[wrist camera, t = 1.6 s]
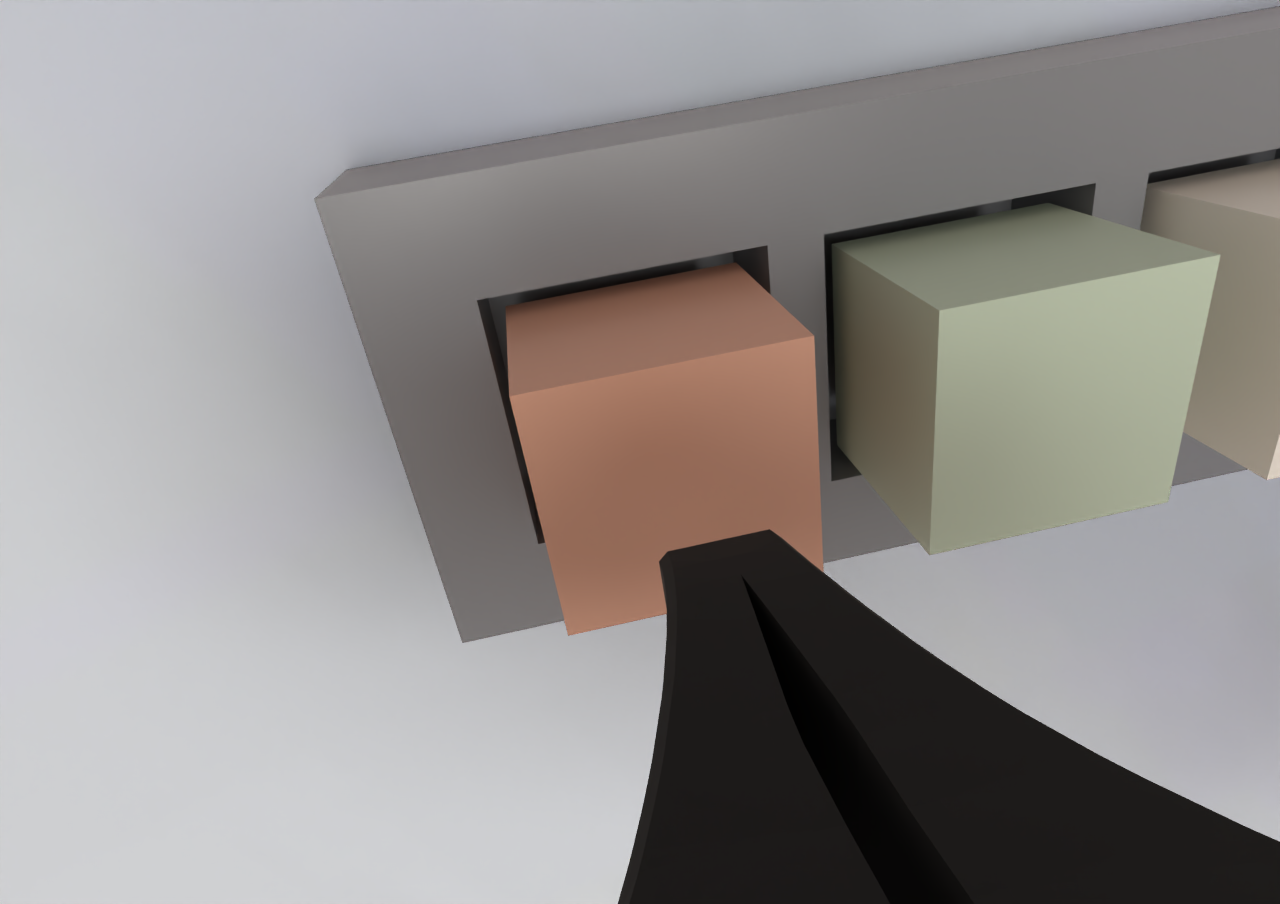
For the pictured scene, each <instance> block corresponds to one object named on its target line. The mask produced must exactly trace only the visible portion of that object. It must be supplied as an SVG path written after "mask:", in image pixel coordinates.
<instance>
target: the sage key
mask: <svg viewBox="0 0 1280 904" xmlns="http://www.w3.org/2000/svg"><path fill="white" fill-rule="evenodd" d="M1220 256H1221V255H1220V254H1217V253H1213V252H1210V251H1207V250H1203V249H1200V248H1197V247H1193V246H1190V245H1187V244H1183V243H1180V242H1177V241H1173V240H1170V239H1167V238H1163V237H1160V236H1157V235H1154V234H1150V233H1147V232H1144V231H1140V230H1137V229H1134V228H1130V227H1127V226H1124V225H1120V224H1117V223H1114V222H1110V221H1107V220H1104V219H1100V218H1097V217H1094V216H1090V215H1087V214H1084V213H1081V212H1077V211H1074V210H1071V209H1067V208H1064V207H1061V206H1057V205H1054V204H1051V203H1044V204H1039V205H1034V206H1029V207H1023V208H1018V209H1013V210H1008V211H1002V212H997V213H992V214H987V215H981V216H976V217H971V218H966V219H960V220H955V221H950V222H945V223H939V224H934V225H929V226H924V227H918V228H913V229H908V230H903V231H897V232H892V233H887V234H882V235H876V236H871V237H866V238H861V239H855V240H850V241H845V242H840V243H834V244H832V278H833V316H834V354H835V391H836V429H837V445H838V447H839V448H840V449H841V450H842V451H843V453H844V454H845V455H846V456H847V457H848V459H849V460H850V461H851V462H852V463H853V465H854V466H855V467H856V468H857V469H858V470H859V472H860V473H861V474H862V475H863V476H864V478H865V479H866V480H867V481H868V482H869V484H870V485H871V486H872V487H873V488H874V490H875V491H876V492H877V493H878V494H879V496H880V497H881V498H882V499H883V500H884V502H885V503H886V504H887V505H888V506H889V507H890V509H891V510H892V511H893V512H894V513H895V515H896V516H897V517H898V518H899V519H900V521H901V522H902V523H903V524H904V525H905V527H906V528H907V529H908V530H909V531H910V533H911V534H912V535H913V536H914V537H915V538H916V540H917V541H918V542H919V543H920V544H921V546H922V547H923V548H924V549H925V550H926V552H927V553H928V554H929V555H933V554H937V553H942V552H946V551H951V550H955V549H960V548H964V547H969V546H973V545H978V544H982V543H987V542H991V541H995V540H1000V539H1004V538H1009V537H1013V536H1018V535H1022V534H1027V533H1031V532H1036V531H1040V530H1045V529H1049V528H1054V527H1058V526H1063V525H1067V524H1072V523H1076V522H1081V521H1085V520H1090V519H1094V518H1099V517H1103V516H1108V515H1112V514H1117V513H1121V512H1126V511H1130V510H1135V509H1139V508H1144V507H1148V506H1153V505H1157V504H1162V503H1166V502H1168V500H1169V495H1170V490H1171V486H1172V481H1173V476H1174V472H1175V467H1176V462H1177V457H1178V453H1179V448H1180V443H1181V439H1182V434H1183V429H1184V425H1185V420H1186V415H1187V411H1188V406H1189V401H1190V396H1191V392H1192V387H1193V382H1194V378H1195V373H1196V368H1197V364H1198V359H1199V354H1200V350H1201V345H1202V340H1203V335H1204V331H1205V326H1206V321H1207V317H1208V312H1209V307H1210V303H1211V298H1212V293H1213V289H1214V284H1215V279H1216V274H1217V270H1218V265H1219V260H1220Z"/></svg>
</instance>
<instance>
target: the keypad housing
mask: <svg viewBox="0 0 1280 904" xmlns="http://www.w3.org/2000/svg"><path fill="white" fill-rule="evenodd" d="M1275 159H1280V6H1279V7H1274V8H1268V9H1262V10H1256V11H1251V12H1245V13H1239V14H1234V15H1228V16H1222V17H1216V18H1211V19H1205V20H1199V21H1194V22H1188V23H1182V24H1176V25H1171V26H1165V27H1159V28H1154V29H1148V30H1142V31H1136V32H1131V33H1125V34H1119V35H1114V36H1108V37H1102V38H1096V39H1091V40H1085V41H1079V42H1074V43H1068V44H1062V45H1056V46H1051V47H1045V48H1039V49H1034V50H1028V51H1022V52H1016V53H1011V54H1005V55H999V56H994V57H988V58H982V59H976V60H971V61H965V62H959V63H954V64H948V65H942V66H936V67H931V68H925V69H919V70H914V71H908V72H902V73H896V74H891V75H885V76H879V77H874V78H868V79H862V80H856V81H851V82H845V83H839V84H834V85H828V86H822V87H816V88H811V89H805V90H799V91H794V92H788V93H782V94H776V95H771V96H765V97H759V98H754V99H748V100H742V101H737V102H731V103H725V104H719V105H714V106H708V107H702V108H697V109H691V110H685V111H679V112H674V113H668V114H662V115H657V116H651V117H645V118H639V119H634V120H628V121H622V122H617V123H611V124H605V125H599V126H594V127H588V128H582V129H577V130H571V131H565V132H559V133H554V134H548V135H542V136H537V137H531V138H525V139H519V140H514V141H508V142H502V143H497V144H491V145H485V146H479V147H474V148H468V149H462V150H457V151H451V152H445V153H439V154H434V155H428V156H422V157H417V158H411V159H405V160H399V161H394V162H388V163H382V164H377V165H371V166H365V167H359V168H354V169H348V170H346V171H345V172H343V173H342V174H341V175H340V176H339V177H338V178H337V179H336V180H335V181H334V182H332V183H331V184H330V185H329V186H328V187H327V188H326V189H325V190H324V191H322V192H321V193H320V194H319V195H318V196H317V197H316V198H315V199H314V200H315V203H316V206H317V209H318V212H319V215H320V218H321V221H322V224H323V227H324V230H325V233H326V236H327V239H328V242H329V245H330V248H331V251H332V254H333V257H334V260H335V263H336V266H337V269H338V272H339V275H340V278H341V281H342V283H343V286H344V289H345V292H346V295H347V298H348V301H349V304H350V307H351V310H352V313H353V316H354V319H355V322H356V325H357V328H358V331H359V334H360V337H361V340H362V343H363V346H364V349H365V352H366V355H367V358H368V361H369V364H370V367H371V370H372V373H373V376H374V379H375V382H376V385H377V388H378V391H379V394H380V397H381V400H382V403H383V406H384V409H385V412H386V415H387V418H388V421H389V424H390V427H391V430H392V433H393V436H394V439H395V442H396V445H397V448H398V451H399V454H400V457H401V460H402V463H403V466H404V469H405V472H406V475H407V478H408V481H409V484H410V487H411V490H412V493H413V496H414V499H415V502H416V505H417V508H418V511H419V514H420V517H421V520H422V523H423V526H424V529H425V532H426V535H427V538H428V541H429V544H430V547H431V550H432V553H433V556H434V559H435V562H436V565H437V568H438V571H439V574H440V577H441V580H442V583H443V586H444V589H445V592H446V595H447V598H448V601H449V604H450V607H451V610H452V613H453V616H454V619H455V622H456V625H457V628H458V631H459V634H460V637H461V640H462V643H465V642H469V641H474V640H478V639H483V638H487V637H492V636H496V635H501V634H505V633H510V632H514V631H519V630H523V629H528V628H532V627H537V626H541V625H546V624H551V623H555V622H560V621H564V616H563V612H562V608H561V604H560V600H559V596H558V592H557V588H556V584H555V580H554V576H553V572H552V568H551V564H550V559H549V555H548V551H547V547H546V543H545V539H544V535H543V531H542V527H541V523H540V519H539V515H538V511H537V507H536V503H535V499H534V495H533V491H532V487H531V483H530V478H529V474H528V470H527V466H526V462H525V458H524V454H523V450H522V446H521V442H520V438H519V434H518V430H517V426H516V422H515V418H514V414H513V410H512V406H511V402H510V398H509V379H508V355H507V331H506V307H505V306H509V305H514V304H519V303H525V302H530V301H535V300H540V299H546V298H551V297H556V296H561V295H567V294H572V293H577V292H582V291H588V290H593V289H598V288H603V287H609V286H614V285H619V284H624V283H630V282H635V281H640V280H645V279H651V278H656V277H661V276H666V275H672V274H677V273H682V272H687V271H693V270H698V269H703V268H708V267H714V266H719V265H724V264H729V263H735V262H736V263H737V264H738V265H739V266H740V267H741V268H743V269H744V270H745V271H746V272H747V273H748V274H749V275H750V276H751V277H752V278H753V279H754V280H755V281H756V282H757V283H759V284H760V285H761V286H762V287H763V288H764V289H765V290H766V291H767V292H768V293H769V294H770V295H771V296H772V297H773V298H775V299H776V300H777V301H778V302H779V303H780V304H781V305H782V306H783V307H784V308H785V309H786V310H787V311H788V312H789V313H791V314H792V315H793V316H794V317H795V318H796V319H797V320H798V321H799V322H800V323H801V324H802V325H803V326H804V327H805V328H807V329H808V330H809V331H810V332H811V333H812V334H813V335H814V344H815V369H816V394H817V420H818V445H819V471H820V496H821V521H822V547H823V563H826V562H831V561H835V560H840V559H844V558H849V557H853V556H858V555H862V554H867V553H871V552H876V551H880V550H885V549H890V548H894V547H899V546H903V545H908V544H912V543H917V542H918V541H917V540H916V538H915V537H914V536H913V535H912V534H911V533H910V531H909V530H908V529H907V528H906V527H905V525H904V524H903V523H902V522H901V521H900V519H899V518H898V517H897V516H896V515H895V513H894V512H893V511H892V510H891V509H890V507H889V506H888V505H887V504H886V503H885V502H884V500H883V499H882V498H881V497H880V496H879V494H878V493H877V492H876V491H875V490H874V488H873V487H872V486H871V485H870V484H869V482H868V481H867V480H866V479H865V478H864V476H863V475H862V474H861V473H860V472H859V470H858V469H857V468H856V467H855V466H854V465H853V463H852V462H851V461H850V460H849V459H848V457H847V456H846V455H845V454H844V453H843V451H842V450H841V449H840V448H839V447H838V445H837V429H836V391H835V354H834V316H833V278H832V244H834V243H840V242H845V241H850V240H855V239H861V238H866V237H871V236H876V235H882V234H887V233H892V232H897V231H903V230H908V229H913V228H918V227H924V226H929V225H934V224H939V223H945V222H950V221H955V220H960V219H966V218H971V217H976V216H981V215H987V214H992V213H997V212H1002V211H1008V210H1013V209H1018V208H1023V207H1029V206H1034V205H1039V204H1044V203H1051V204H1054V205H1057V206H1061V207H1064V208H1067V209H1071V210H1074V211H1077V212H1081V213H1084V214H1087V215H1090V216H1094V217H1097V218H1100V219H1104V220H1107V221H1110V222H1114V223H1117V224H1120V225H1124V226H1127V227H1130V228H1134V229H1137V230H1140V226H1141V220H1142V213H1143V207H1144V201H1145V195H1146V189H1147V184H1149V183H1155V182H1160V181H1165V180H1170V179H1176V178H1181V177H1186V176H1191V175H1197V174H1202V173H1207V172H1212V171H1218V170H1223V169H1228V168H1233V167H1239V166H1244V165H1249V164H1254V163H1260V162H1265V161H1270V160H1275ZM1242 470H1247V468H1245V467H1243V466H1242V465H1240V464H1238V463H1236V462H1235V461H1233V460H1231V459H1229V458H1228V457H1226V456H1224V455H1222V454H1221V453H1219V452H1217V451H1215V450H1214V449H1212V448H1210V447H1208V446H1207V445H1205V444H1203V443H1202V442H1200V441H1198V440H1196V439H1195V438H1193V437H1191V436H1189V435H1188V434H1186V433H1184V432H1183V434H1182V439H1181V443H1180V448H1179V453H1178V457H1177V462H1176V467H1175V472H1174V476H1173V481H1172V486H1174V485H1179V484H1183V483H1188V482H1192V481H1197V480H1201V479H1206V478H1210V477H1215V476H1219V475H1224V474H1228V473H1233V472H1238V471H1242Z"/></svg>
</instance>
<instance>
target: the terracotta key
mask: <svg viewBox="0 0 1280 904" xmlns="http://www.w3.org/2000/svg"><path fill="white" fill-rule="evenodd" d="M505 307H506V331H507V355H508V379H509V398H510V402H511V406H512V410H513V414H514V418H515V422H516V426H517V430H518V434H519V438H520V442H521V446H522V450H523V454H524V458H525V462H526V466H527V470H528V474H529V478H530V483H531V487H532V491H533V495H534V499H535V503H536V507H537V511H538V515H539V519H540V523H541V527H542V531H543V535H544V539H545V543H546V547H547V551H548V555H549V559H550V564H551V568H552V572H553V576H554V580H555V584H556V588H557V592H558V596H559V600H560V604H561V608H562V612H563V616H564V620H565V624H566V628H567V632H568V636H569V635H574V634H578V633H583V632H587V631H591V630H596V629H600V628H605V627H609V626H614V625H618V624H623V623H627V622H632V621H636V620H641V619H645V618H650V617H654V616H659V615H663V614H667V608H666V602H665V596H664V590H663V584H662V578H661V572H660V566H659V561H660V560H661V558H662V557H663V556H664V555H665V554H666V552H667V551H672V550H676V549H681V548H685V547H690V546H695V545H699V544H704V543H708V542H713V541H718V540H722V539H727V538H731V537H736V536H740V535H745V534H750V533H754V532H759V531H763V530H768V529H770V530H772V531H773V532H774V533H776V534H777V535H779V536H780V537H781V538H783V539H784V540H785V541H786V542H787V543H788V544H790V545H791V546H792V547H793V548H794V549H796V550H797V551H798V552H799V553H800V554H802V555H803V556H804V557H805V558H806V559H808V560H809V561H810V562H811V563H812V564H814V565H815V566H816V567H817V568H818V569H820V570H821V571H822V572H823V547H822V521H821V496H820V471H819V445H818V420H817V394H816V369H815V344H814V335H813V334H812V333H811V332H810V331H809V330H808V329H807V328H805V327H804V326H803V325H802V324H801V323H800V322H799V321H798V320H797V319H796V318H795V317H794V316H793V315H792V314H791V313H789V312H788V311H787V310H786V309H785V308H784V307H783V306H782V305H781V304H780V303H779V302H778V301H777V300H776V299H775V298H773V297H772V296H771V295H770V294H769V293H768V292H767V291H766V290H765V289H764V288H763V287H762V286H761V285H760V284H759V283H757V282H756V281H755V280H754V279H753V278H752V277H751V276H750V275H749V274H748V273H747V272H746V271H745V270H744V269H743V268H741V267H740V266H739V265H738V264H737V263H736V262H735V263H729V264H724V265H719V266H714V267H708V268H703V269H698V270H693V271H687V272H682V273H677V274H672V275H666V276H661V277H656V278H651V279H645V280H640V281H635V282H630V283H624V284H619V285H614V286H609V287H603V288H598V289H593V290H588V291H582V292H577V293H572V294H567V295H561V296H556V297H551V298H546V299H540V300H535V301H530V302H525V303H519V304H514V305H509V306H505ZM823 573H824V572H823Z"/></svg>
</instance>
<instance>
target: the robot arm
mask: <svg viewBox="0 0 1280 904" xmlns="http://www.w3.org/2000/svg"><path fill="white" fill-rule="evenodd" d="M659 566H660V572H661V578H662V584H663V590H664V596H665V602H666V608H667V640H666V654H665V668H664V682H663V691H662V700H661V706H660V713H659V719H658V726H657V732H656V739H655V745H654V752H653V758H652V764H651V769H650V774H649V779H648V784H647V789H646V794H645V799H644V803H643V808H642V813H641V817H640V821H639V825H638V829H637V834H636V838H635V842H634V846H633V850H632V854H631V858H630V862H629V866H628V869H627V873H626V877H625V880H624V884H623V887H622V891H621V894H620V898H619V902H618V904H1280V842H1279V841H1277V840H1274V839H1272V838H1270V837H1268V836H1265V835H1263V834H1261V833H1259V832H1256V831H1254V830H1252V829H1250V828H1247V827H1245V826H1243V825H1241V824H1239V823H1237V822H1235V821H1232V820H1230V819H1228V818H1226V817H1224V816H1222V815H1220V814H1218V813H1216V812H1214V811H1212V810H1209V809H1207V808H1205V807H1203V806H1201V805H1199V804H1197V803H1195V802H1193V801H1191V800H1189V799H1187V798H1184V797H1182V796H1180V795H1178V794H1176V793H1174V792H1172V791H1170V790H1168V789H1166V788H1164V787H1161V786H1159V785H1157V784H1155V783H1153V782H1151V781H1149V780H1147V779H1145V778H1143V777H1141V776H1139V775H1137V774H1135V773H1133V772H1131V771H1129V770H1127V769H1125V768H1123V767H1121V766H1119V765H1117V764H1115V763H1114V762H1112V761H1110V760H1108V759H1106V758H1104V757H1102V756H1100V755H1098V754H1096V753H1094V752H1093V751H1091V750H1089V749H1087V748H1085V747H1084V746H1082V745H1080V744H1078V743H1076V742H1075V741H1073V740H1071V739H1069V738H1068V737H1066V736H1064V735H1062V734H1060V733H1059V732H1057V731H1055V730H1053V729H1051V728H1050V727H1048V726H1046V725H1044V724H1043V723H1041V722H1039V721H1037V720H1035V719H1034V718H1032V717H1030V716H1028V715H1026V714H1025V713H1023V712H1021V711H1020V710H1018V709H1016V708H1015V707H1013V706H1011V705H1010V704H1008V703H1007V702H1005V701H1003V700H1002V699H1000V698H998V697H997V696H995V695H994V694H992V693H990V692H989V691H987V690H986V689H984V688H983V687H981V686H979V685H978V684H976V683H975V682H973V681H972V680H970V679H969V678H967V677H966V676H964V675H963V674H961V673H960V672H958V671H957V670H955V669H954V668H952V667H951V666H949V665H948V664H946V663H944V662H943V661H941V660H940V659H939V658H937V657H936V656H934V655H933V654H931V653H930V652H928V651H927V650H926V649H924V648H923V647H921V646H920V645H918V644H917V643H916V642H914V641H913V640H911V639H910V638H909V637H907V636H906V635H905V634H903V633H902V632H900V631H899V630H898V629H896V628H895V627H894V626H892V625H891V624H890V623H888V622H887V621H885V620H884V619H883V618H881V617H880V616H879V615H877V614H876V613H875V612H873V611H872V610H870V609H869V608H868V607H866V606H865V605H864V604H863V603H861V602H860V601H859V600H857V599H856V598H855V597H854V596H852V595H851V594H850V593H848V592H847V591H846V590H845V589H843V588H842V587H841V586H840V585H838V584H837V583H836V582H835V581H833V580H832V579H831V578H830V577H828V576H827V575H826V574H825V573H823V572H822V571H821V570H820V569H818V568H817V567H816V566H815V565H814V564H812V563H811V562H810V561H809V560H808V559H806V558H805V557H804V556H803V555H802V554H800V553H799V552H798V551H797V550H796V549H794V548H793V547H792V546H791V545H790V544H788V543H787V542H786V541H785V540H784V539H783V538H781V537H780V536H779V535H777V534H776V533H774V532H773V531H772V530H770V529H768V530H763V531H759V532H754V533H750V534H745V535H740V536H736V537H731V538H727V539H722V540H718V541H713V542H708V543H704V544H699V545H695V546H690V547H685V548H681V549H676V550H672V551H667V552H666V554H665V555H664V556H663V557H662V558H661V560H660V561H659Z"/></svg>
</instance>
